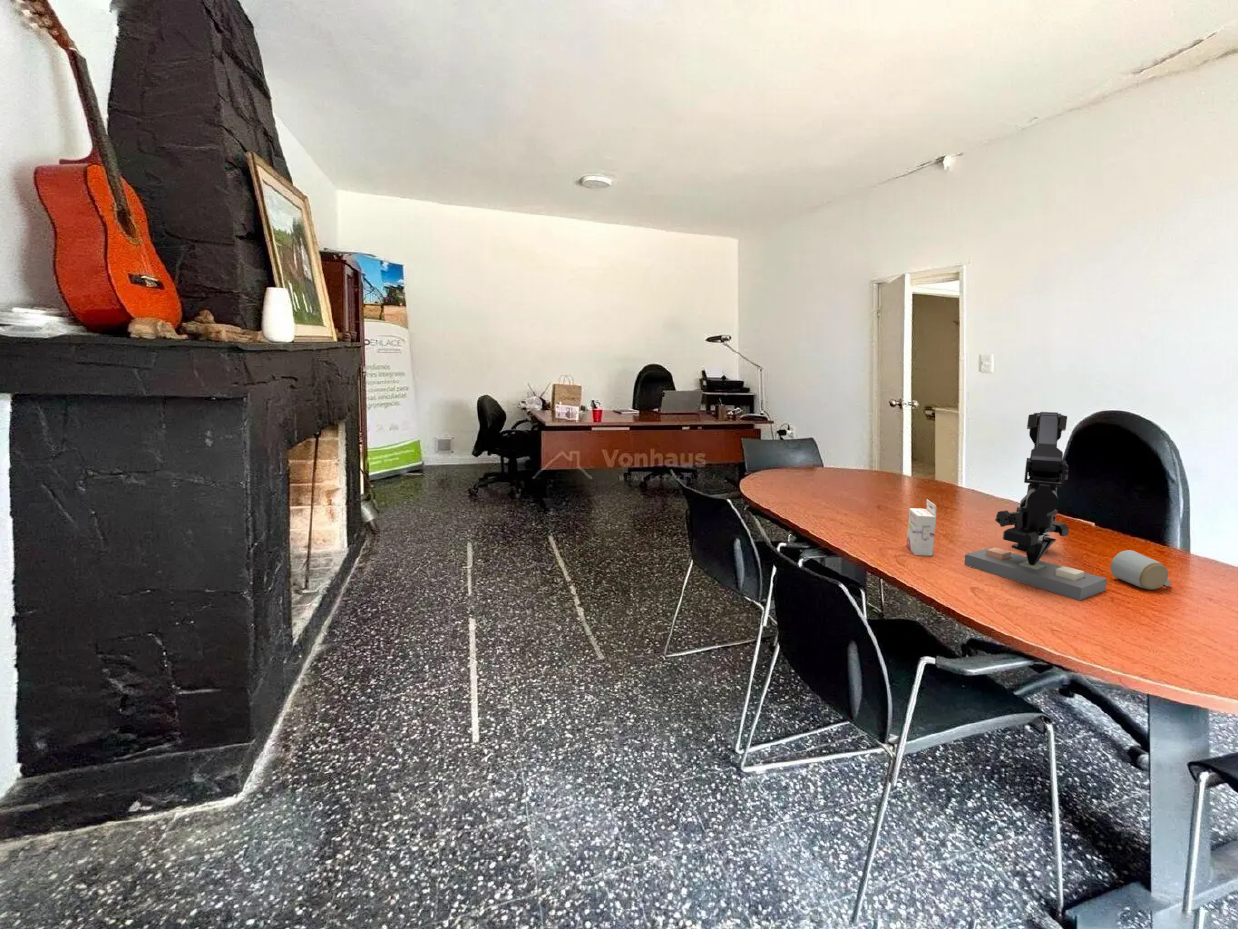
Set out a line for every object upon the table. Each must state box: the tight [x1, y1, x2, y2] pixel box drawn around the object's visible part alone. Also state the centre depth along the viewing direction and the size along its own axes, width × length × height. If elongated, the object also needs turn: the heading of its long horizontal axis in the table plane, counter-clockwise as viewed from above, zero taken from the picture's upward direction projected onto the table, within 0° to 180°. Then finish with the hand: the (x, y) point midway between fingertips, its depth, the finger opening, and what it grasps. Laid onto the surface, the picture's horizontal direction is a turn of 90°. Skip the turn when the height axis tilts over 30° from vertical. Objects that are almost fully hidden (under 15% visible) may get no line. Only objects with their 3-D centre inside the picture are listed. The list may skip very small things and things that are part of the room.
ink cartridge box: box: [906, 498, 937, 557], centre depth 158 cm, size 9×5×15 cm, turn 168°
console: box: [963, 547, 1108, 601], centre depth 139 cm, size 12×26×3 cm, turn 27°
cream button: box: [1055, 565, 1085, 581], centre depth 132 cm, size 4×4×2 cm
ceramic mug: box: [1110, 549, 1172, 591], centre depth 134 cm, size 11×8×8 cm
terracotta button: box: [986, 547, 1012, 560], centre depth 146 cm, size 4×4×2 cm
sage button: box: [1019, 561, 1045, 570], centre depth 139 cm, size 4×4×2 cm
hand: (1031, 564), depth 139 cm, fingers closed, pressing on sage button
